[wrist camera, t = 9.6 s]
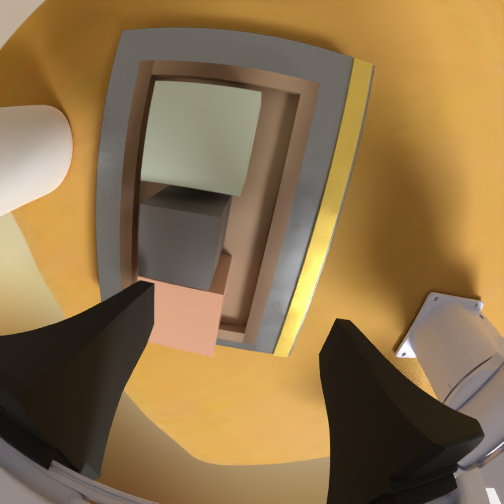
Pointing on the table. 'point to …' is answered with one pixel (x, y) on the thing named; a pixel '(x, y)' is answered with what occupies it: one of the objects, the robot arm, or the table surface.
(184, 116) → the sage block
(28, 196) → the pill bottle
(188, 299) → the terracotta block
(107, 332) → the robot arm
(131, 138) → the tray
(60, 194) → the table surface
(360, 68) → the dock
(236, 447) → the table surface
